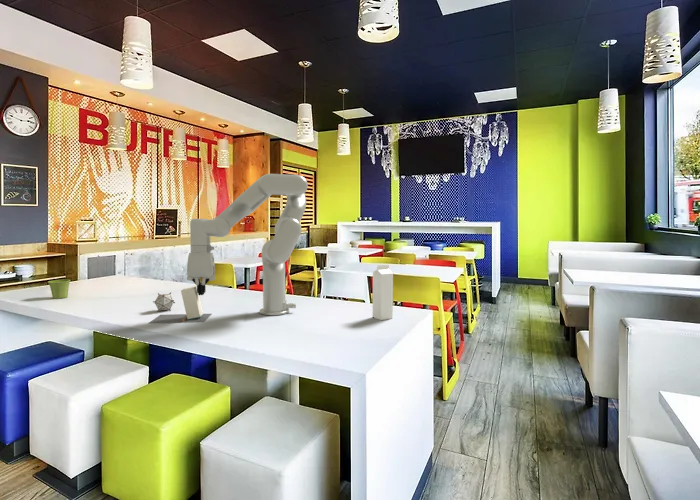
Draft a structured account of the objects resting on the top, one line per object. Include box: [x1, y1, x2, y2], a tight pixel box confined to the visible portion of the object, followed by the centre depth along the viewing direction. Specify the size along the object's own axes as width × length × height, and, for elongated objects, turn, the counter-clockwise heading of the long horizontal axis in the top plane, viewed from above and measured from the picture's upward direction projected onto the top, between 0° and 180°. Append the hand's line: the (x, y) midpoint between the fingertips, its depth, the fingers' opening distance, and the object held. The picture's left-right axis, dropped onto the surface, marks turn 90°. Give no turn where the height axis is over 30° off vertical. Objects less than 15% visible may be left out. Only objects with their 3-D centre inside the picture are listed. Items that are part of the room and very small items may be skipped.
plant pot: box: [47, 279, 71, 300], centre depth 201 cm, size 9×9×9 cm
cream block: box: [180, 285, 204, 320], centre depth 161 cm, size 5×5×12 cm
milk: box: [372, 264, 394, 321], centre depth 163 cm, size 6×6×22 cm
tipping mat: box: [147, 313, 213, 325], centre depth 160 cm, size 21×14×1 cm, turn 97°
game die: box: [152, 292, 176, 313], centre depth 174 cm, size 9×8×10 cm
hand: (201, 294), depth 161 cm, fingers closed
